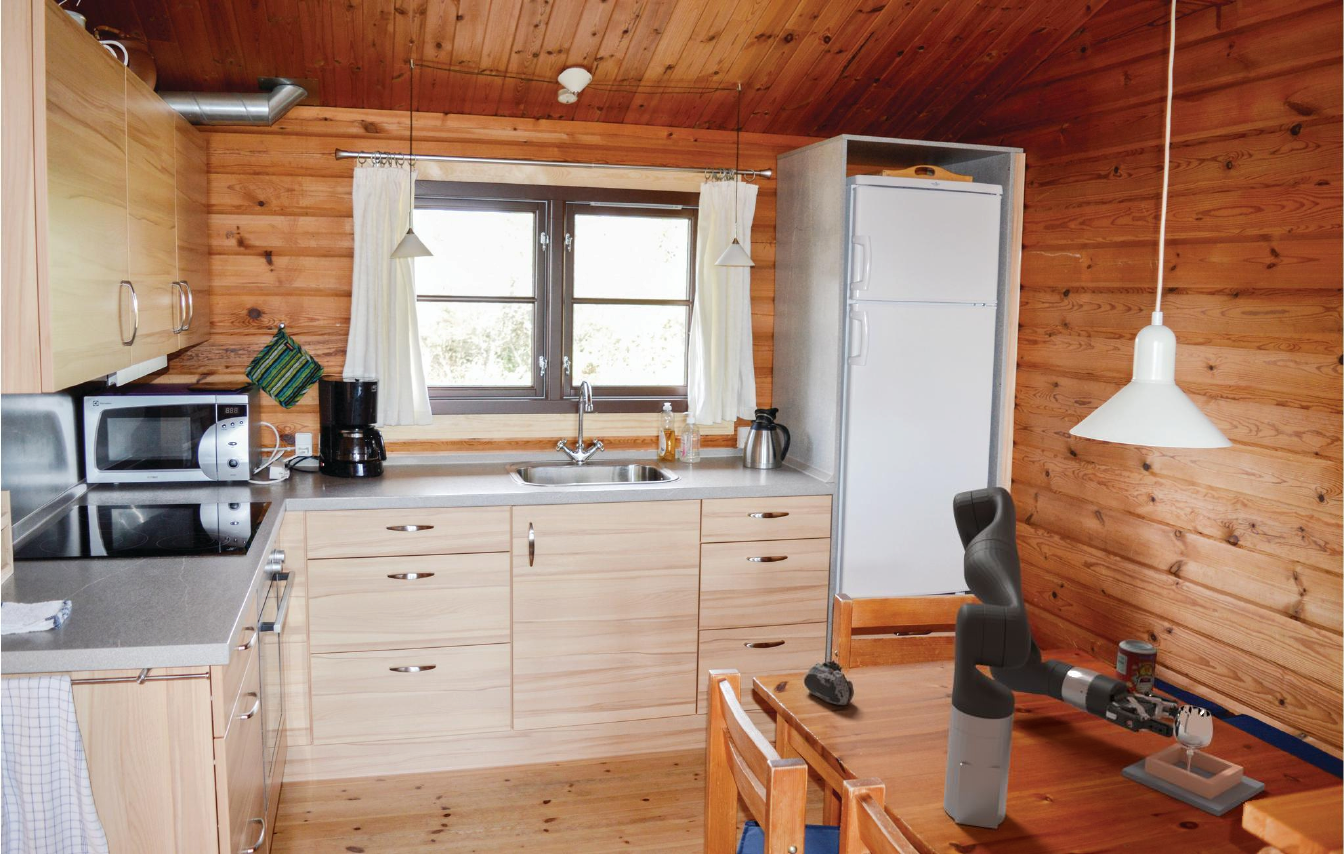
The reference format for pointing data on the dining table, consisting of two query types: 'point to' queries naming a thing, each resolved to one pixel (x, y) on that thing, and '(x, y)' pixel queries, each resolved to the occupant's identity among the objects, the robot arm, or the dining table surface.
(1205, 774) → the glass holder
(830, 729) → the dining table surface
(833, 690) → the dark grey rock
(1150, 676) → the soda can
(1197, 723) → the wineglass
